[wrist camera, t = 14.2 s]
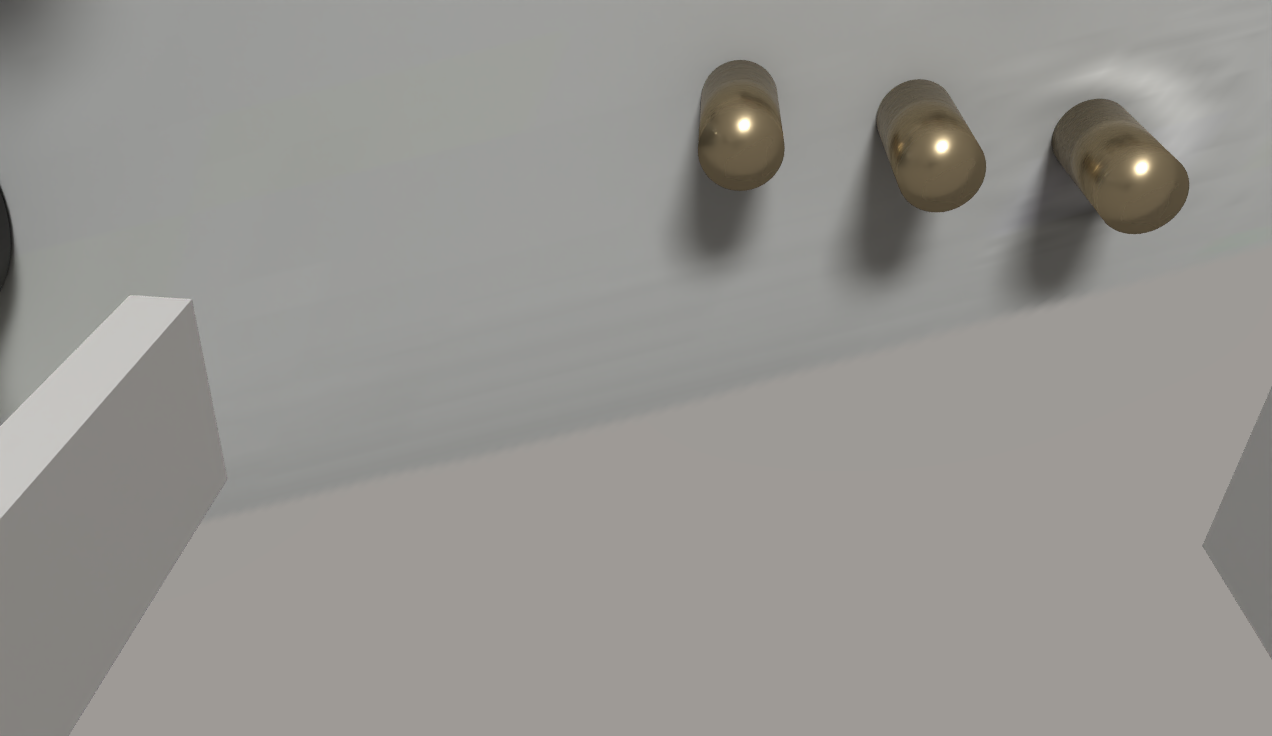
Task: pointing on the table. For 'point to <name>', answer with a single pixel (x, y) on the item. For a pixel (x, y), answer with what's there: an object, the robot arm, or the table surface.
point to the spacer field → (947, 148)
